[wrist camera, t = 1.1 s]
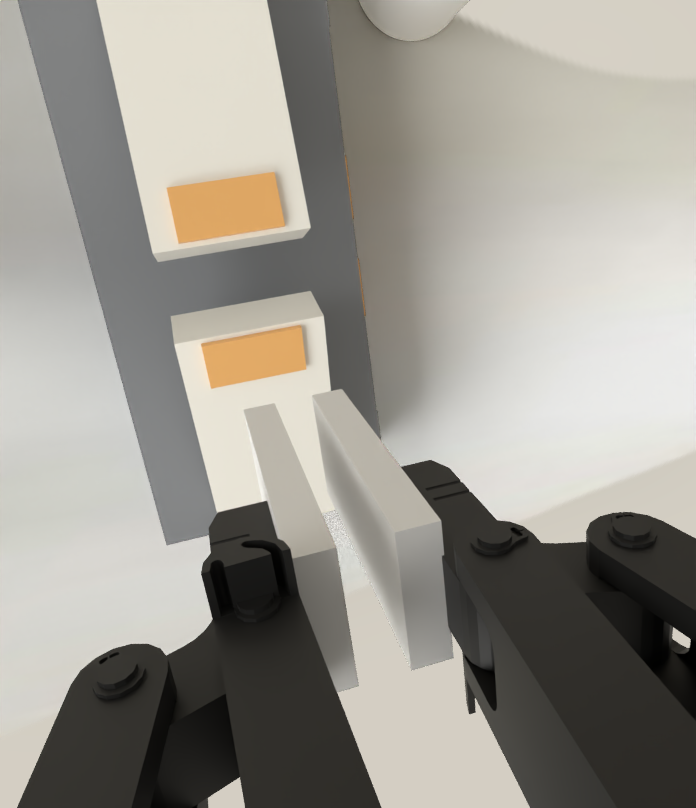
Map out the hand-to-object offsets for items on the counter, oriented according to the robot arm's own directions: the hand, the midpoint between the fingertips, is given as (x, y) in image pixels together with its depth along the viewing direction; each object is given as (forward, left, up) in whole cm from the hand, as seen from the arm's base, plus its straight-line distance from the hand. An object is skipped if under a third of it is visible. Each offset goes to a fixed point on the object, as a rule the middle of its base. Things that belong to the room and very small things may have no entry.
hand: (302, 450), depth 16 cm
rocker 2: (0, -4, -15) cm, 15 cm away
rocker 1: (0, +9, -15) cm, 17 cm away
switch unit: (0, +2, -22) cm, 23 cm away
